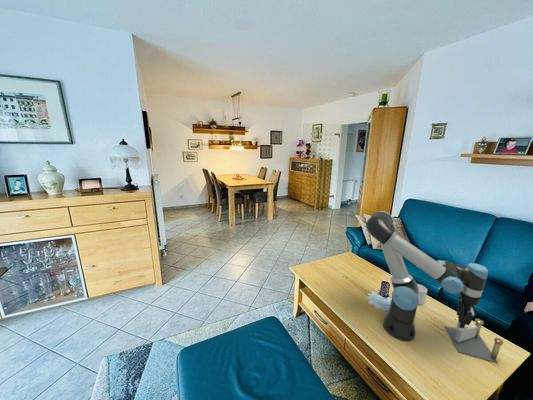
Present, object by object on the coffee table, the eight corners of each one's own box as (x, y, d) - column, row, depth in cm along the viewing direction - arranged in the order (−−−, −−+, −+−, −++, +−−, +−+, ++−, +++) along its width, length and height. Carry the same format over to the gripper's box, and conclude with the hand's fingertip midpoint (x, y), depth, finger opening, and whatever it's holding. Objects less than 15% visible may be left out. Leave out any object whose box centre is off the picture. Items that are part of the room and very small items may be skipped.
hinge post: (472, 339, 115) (477, 322, 113) (469, 334, 118) (474, 317, 116) (479, 341, 114) (485, 323, 112) (476, 336, 117) (481, 319, 114)
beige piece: (471, 334, 116) (474, 323, 114) (474, 337, 115) (478, 325, 113) (454, 339, 113) (457, 328, 111) (458, 342, 111) (461, 330, 110)
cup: (427, 305, 139) (430, 291, 137) (409, 305, 139) (412, 292, 136) (417, 296, 147) (420, 283, 145) (400, 297, 147) (403, 283, 144)
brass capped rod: (490, 360, 104) (497, 341, 101) (487, 355, 106) (493, 337, 104) (498, 362, 103) (504, 343, 100) (494, 357, 105) (501, 338, 103)
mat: (458, 352, 108) (458, 351, 107) (444, 326, 123) (445, 325, 123) (497, 363, 102) (497, 362, 102) (478, 335, 118) (478, 334, 118)
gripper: (487, 303, 103) (474, 343, 109) (473, 287, 114) (462, 323, 121) (467, 299, 105) (456, 338, 112) (455, 284, 117) (445, 320, 123)
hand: (459, 330), depth 116 cm, fingers closed
